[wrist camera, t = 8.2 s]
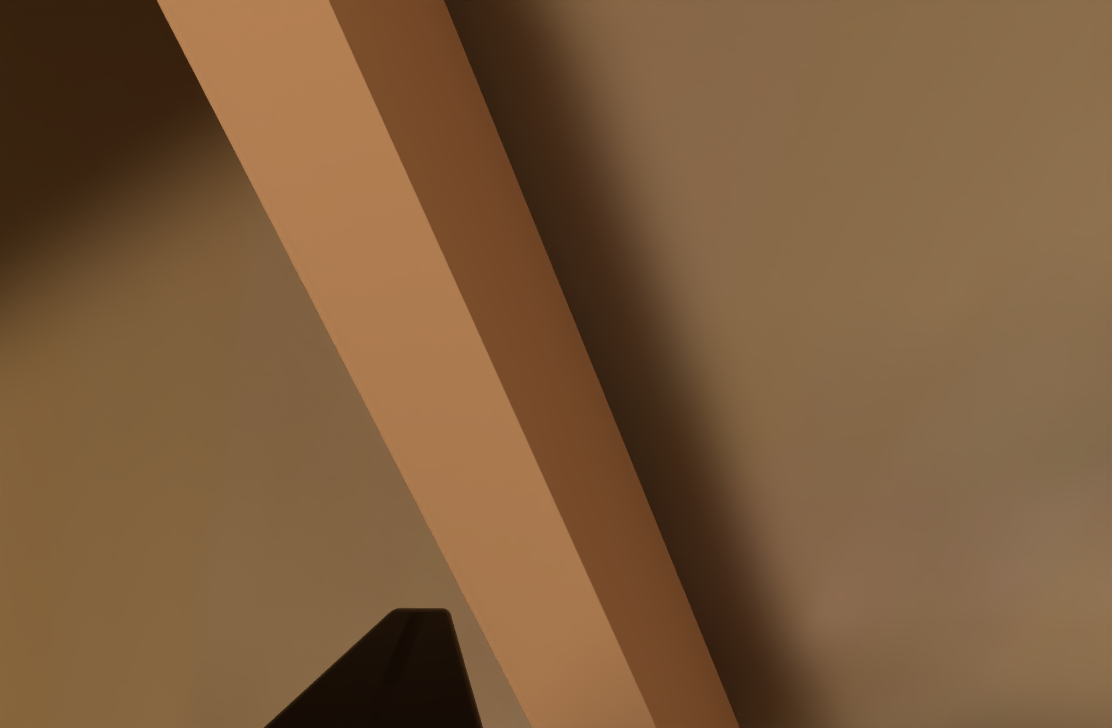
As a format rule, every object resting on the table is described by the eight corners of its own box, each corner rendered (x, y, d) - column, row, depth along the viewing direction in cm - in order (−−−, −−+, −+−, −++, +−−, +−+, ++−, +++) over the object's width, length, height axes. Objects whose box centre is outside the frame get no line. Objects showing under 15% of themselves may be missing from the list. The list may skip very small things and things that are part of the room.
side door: (837, 765, 10) (950, 1112, 7) (698, 799, 11) (742, 1147, 7) (328, -639, 6) (-27, -1517, 3) (114, -509, 6) (-445, -1135, 3)
